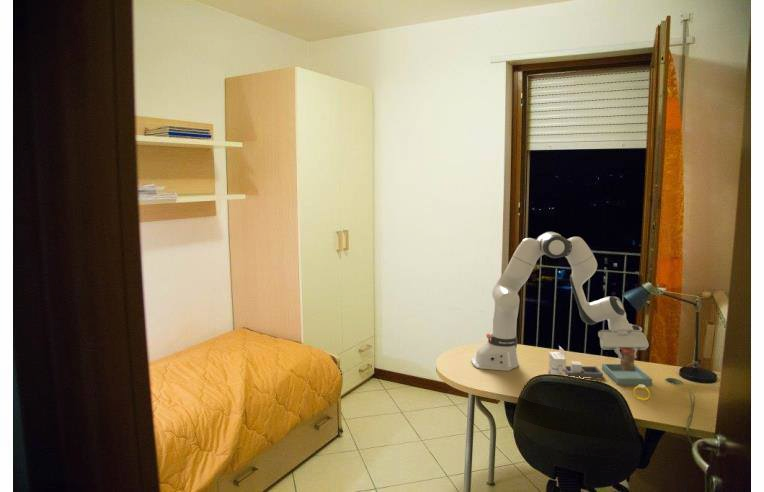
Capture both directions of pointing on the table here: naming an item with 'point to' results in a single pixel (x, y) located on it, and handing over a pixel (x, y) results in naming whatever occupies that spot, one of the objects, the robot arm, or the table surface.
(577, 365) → the pale grey fuse
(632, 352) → the cylinder
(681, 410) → the table surface
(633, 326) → the robot arm
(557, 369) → the ink cartridge box
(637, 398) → the gold ring
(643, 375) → the slate-green tray
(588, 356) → the table surface
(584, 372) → the fuse rack
